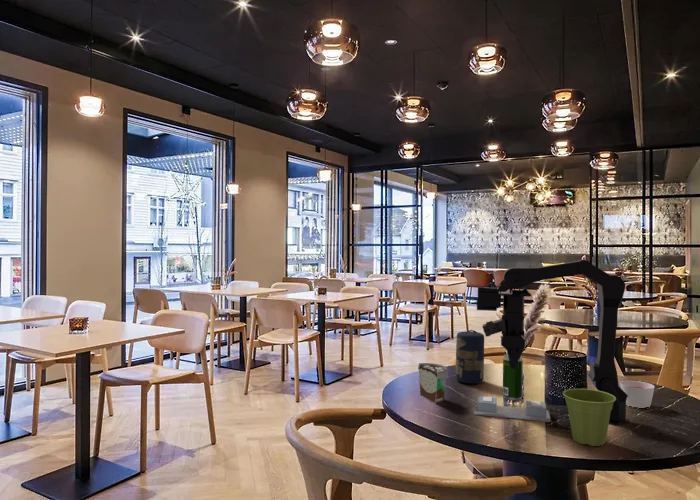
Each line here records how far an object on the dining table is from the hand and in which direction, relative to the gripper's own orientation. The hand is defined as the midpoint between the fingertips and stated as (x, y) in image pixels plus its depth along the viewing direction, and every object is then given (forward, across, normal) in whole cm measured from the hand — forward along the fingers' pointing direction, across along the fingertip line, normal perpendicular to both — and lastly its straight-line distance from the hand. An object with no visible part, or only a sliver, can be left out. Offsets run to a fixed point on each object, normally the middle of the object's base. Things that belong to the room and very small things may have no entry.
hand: (512, 366), depth 147 cm
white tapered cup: (+13, -19, +35) cm, 42 cm away
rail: (+13, +2, 0) cm, 13 cm away
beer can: (+9, 0, 0) cm, 9 cm away
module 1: (+12, +3, -7) cm, 14 cm away
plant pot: (+13, +17, +18) cm, 28 cm away
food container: (+13, -5, -22) cm, 26 cm away
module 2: (+13, +2, +6) cm, 15 cm away
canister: (+13, -29, -14) cm, 35 cm away
